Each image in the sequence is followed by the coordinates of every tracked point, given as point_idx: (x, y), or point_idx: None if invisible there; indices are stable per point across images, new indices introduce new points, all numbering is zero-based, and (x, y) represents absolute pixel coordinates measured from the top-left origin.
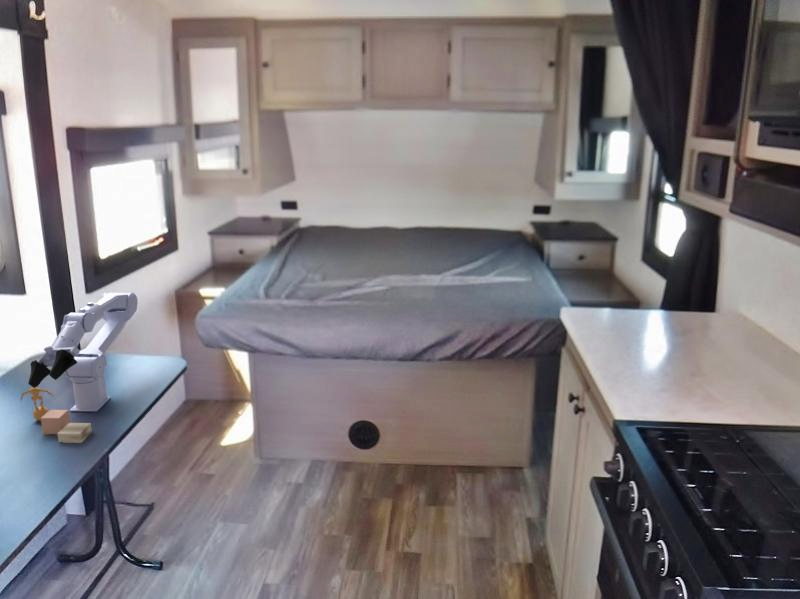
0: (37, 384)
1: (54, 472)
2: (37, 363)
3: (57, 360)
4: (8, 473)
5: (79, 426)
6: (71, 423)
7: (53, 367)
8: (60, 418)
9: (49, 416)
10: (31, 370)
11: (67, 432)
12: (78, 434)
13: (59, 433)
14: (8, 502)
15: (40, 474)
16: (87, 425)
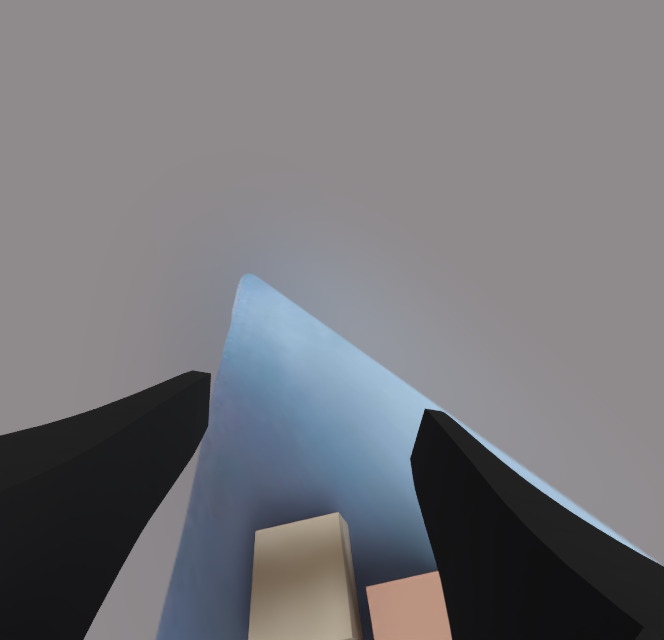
0: (415, 479)
1: (271, 388)
2: (580, 618)
3: (58, 427)
4: (364, 357)
5: (283, 602)
6: (335, 632)
7: (150, 391)
8: (369, 603)
9: (431, 598)
10: (561, 509)
11: (305, 531)
12: (262, 530)
13: (330, 514)
14: (299, 309)
15: (295, 374)
16: (253, 622)
